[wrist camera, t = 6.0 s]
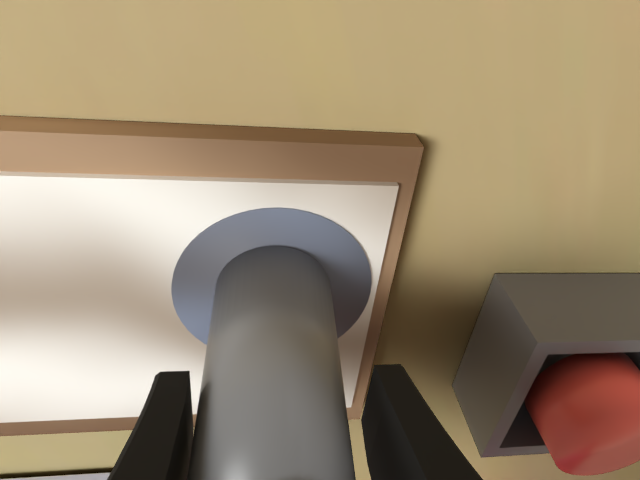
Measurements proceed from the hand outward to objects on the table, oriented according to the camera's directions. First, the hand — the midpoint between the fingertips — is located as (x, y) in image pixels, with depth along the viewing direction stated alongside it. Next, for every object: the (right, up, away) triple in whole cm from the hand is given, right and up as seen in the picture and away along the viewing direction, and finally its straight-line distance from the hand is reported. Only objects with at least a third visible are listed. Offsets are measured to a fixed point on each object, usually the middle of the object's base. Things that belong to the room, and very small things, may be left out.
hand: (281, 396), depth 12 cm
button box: (+9, 0, +7) cm, 11 cm away
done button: (+9, -1, +5) cm, 11 cm away
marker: (0, +2, +3) cm, 3 cm away
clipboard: (-5, +2, +4) cm, 6 cm away
